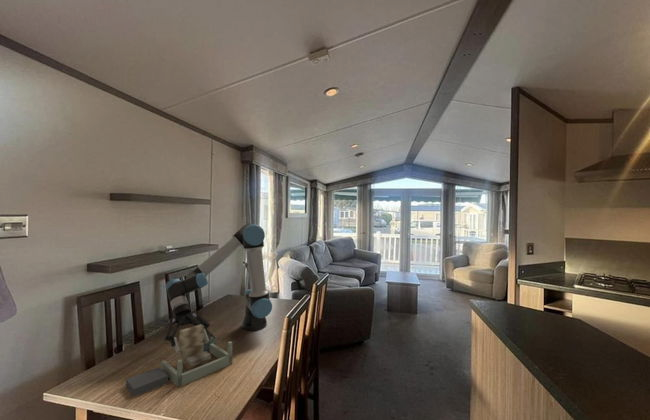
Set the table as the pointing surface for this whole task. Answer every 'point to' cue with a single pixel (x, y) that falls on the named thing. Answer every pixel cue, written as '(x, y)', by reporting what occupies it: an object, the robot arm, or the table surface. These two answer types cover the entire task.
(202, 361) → the offcut stack
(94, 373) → the table surface
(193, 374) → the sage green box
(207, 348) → the beverage carton
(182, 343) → the birch block
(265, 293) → the robot arm
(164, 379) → the rubber block
